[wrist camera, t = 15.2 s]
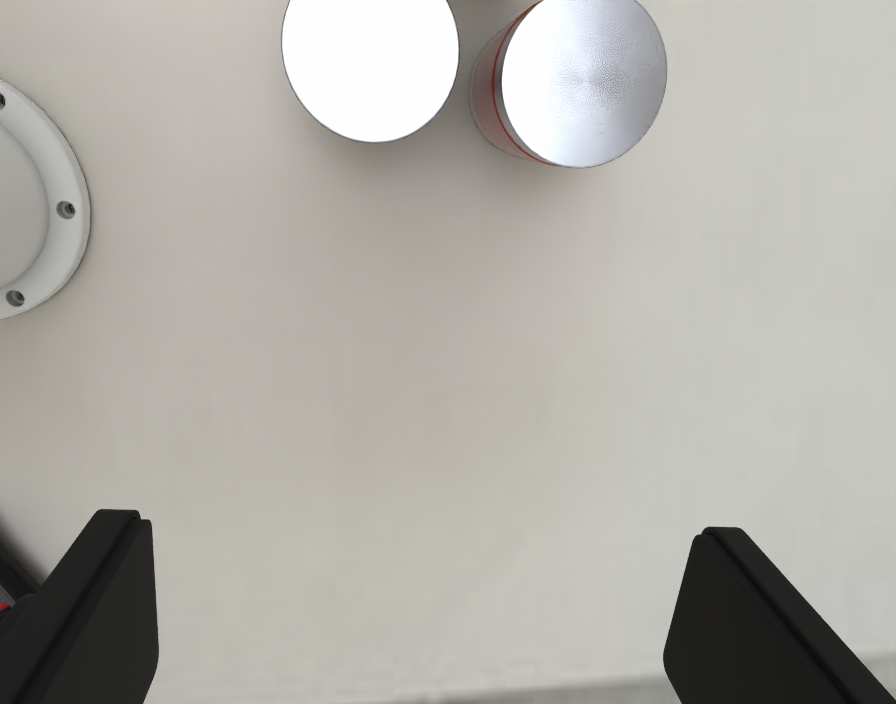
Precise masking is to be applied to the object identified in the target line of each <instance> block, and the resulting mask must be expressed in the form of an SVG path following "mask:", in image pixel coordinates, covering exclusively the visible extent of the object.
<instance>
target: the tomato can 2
mask: <svg viewBox="0 0 896 704" xmlns="http://www.w3.org/2000/svg"><path fill="white" fill-rule="evenodd" d="M666 81H667V60H666V53H665V48H664V44H663V41H662V38H661V35H660V32H659V30H658V28H657V26H656V24H655V22H654V21H653V19H652V18H651V16H650V15H649V13H648V12H647V11H646V10H645V9H644V8H643V7H642V6H641V5H640V4H639V3H638V2H637V1H636V0H541V1H540V2H538V3H536V4H534V5H533V6H531V7H530V8H529V9H527V10H526V11H525V12H523V13H522V14H521V15H520V16H518V17H517V18H516V19H515V20H513V21H512V22H511V23H509V24H508V25H507V26H506V27H504V28H503V29H502V30H500V31H499V32H498V33H497V34H496V35H495V36H494V37H493V38H492V39H491V40H490V41H489V42H488V43H487V44H486V45H485V47H484V48H483V49H482V50H481V52H480V54H479V55H478V57H477V59H476V61H475V63H474V66H473V68H472V72H471V75H470V81H469V91H468V94H469V104H470V110H471V113H472V116H473V119H474V121H475V123H476V125H477V127H478V129H479V130H480V132H481V133H482V134H483V136H484V137H485V138H486V139H487V140H488V141H489V142H490V143H491V144H492V145H494V146H495V147H497V148H498V149H500V150H502V151H504V152H506V153H509V154H511V155H513V156H516V157H519V158H523V159H527V160H531V161H536V162H540V163H544V164H548V165H553V166H561V167H568V168H590V167H594V166H599V165H602V164H605V163H608V162H610V161H612V160H614V159H616V158H618V157H620V156H621V155H623V154H624V153H626V152H627V151H629V150H630V149H631V148H632V147H633V146H634V145H635V144H637V143H638V142H639V140H640V139H641V138H642V137H643V136H644V135H645V134H646V132H647V131H648V129H649V128H650V126H651V125H652V123H653V121H654V119H655V118H656V116H657V114H658V111H659V109H660V106H661V104H662V100H663V97H664V93H665V88H666Z"/></svg>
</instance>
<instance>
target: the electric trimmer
mask: <svg viewBox="0 0 896 704" xmlns="http://www.w3.org/2000/svg"><path fill="white" fill-rule="evenodd" d="M40 588H41V587H40V586H39V585H38V584H37V583H36V581H35V580H34V579H33V578H32V577H31V576H30V575H29V574H28V573H27V572H26V570H25V569H24V568H23V567H22V566H21V565H20V564H19V563H18V562H17V561H16V560H15V558H14V557H13V556H12V555H11V554H10V553H9V552H8V551H7V550H6V549H5V548H4V546H3V545H2V544H1V543H0V622H1V621H2V620H3V618H4V617H5V616H6V614H7V613H8V612H9V611H10V609H11V608H12V607H13V605H14V604H15V603H16V602H17V601H18V600H19V599H20V598H21V597H22V596H25V595H27V594H36V593H37V592H38V591H39V589H40Z"/></svg>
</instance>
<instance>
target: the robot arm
mask: <svg viewBox="0 0 896 704" xmlns="http://www.w3.org/2000/svg"><path fill="white" fill-rule="evenodd" d="M2 96H4V98H5V101H6V102H5V106H4V105H3V104H2V103H1V97H2ZM70 204H72V205H73V206H74V209H75V213H73V212H71V211H70V209H69V205H70ZM89 231H90V201H89V196H88V192H87V187H86V182H85V178H84V176H83V173H82V171H81V168H80V166H79V163H78V161H77V158H76V156H75V154H74V152H73V151H72V149H71V147H70V146H69V144H68V143H67V141H66V139H65V138H64V136H63V134H62V133H61V131H60V130H59V129H58V128H57V127H56V125H55V124H54V123H53V122H52V121H51V120H50V119H49V117H48V116H47V115H46V114H45V113H44V112H43V110H42V109H40V108H39V107H38V106H37V105H36V104H35V103H33V102H32V101H31V100H30V99H29V98H27V97H26V96H25V95H24V94H23V93H22V92H20V91H19V90H18V89H16V88H14V87H13V86H11V85H9V84H8V83H6V82H4V81H3V80H1V79H0V319H4V318H10V317H12V316H15V315H17V314H20V313H22V312H25V311H27V310H30V309H32V308H34V307H35V306H37V305H39V304H41V303H43V302H44V301H46V300H48V299H49V298H50V297H51V296H53V295H54V294H55V293H56V292H57V291H59V290H60V289H61V288H62V287H63V286H64V285H65V284H66V283H67V281H68V280H69V279H70V277H71V276H72V275H73V273H74V272H75V271H76V270H77V268H78V265H79V263H80V261H81V259H82V257H83V254H84V252H85V250H86V246H87V241H88V236H89ZM20 293H21V294H22V295H23V297H24V298H22V297H21V296H20ZM158 656H159V644H158V626H157V608H156V590H155V573H154V555H153V537H152V525H151V522H150V520H145V519H141V517H140V514H139V512H138V511H137V510H116V509H100V510H98V511H97V512H96V513H95V514H94V515H93V517H92V518H91V519H90V521H89V522H88V523H87V525H86V526H85V528H84V529H83V530H82V532H81V533H80V534H79V536H78V537H77V538H76V540H75V541H74V543H73V544H72V545H71V547H70V548H69V549H68V551H67V552H66V554H65V555H64V556H63V558H62V559H61V560H60V562H59V563H58V565H57V566H56V567H55V569H54V570H53V571H52V573H51V574H50V576H49V577H48V578H47V580H46V581H45V582H44V584H43V585H42V586H41V588H40V589H39V591H38V592H37V593H36V594H27V595H25V596H22V597H21V598H20V599H19V600H18V601H17V602H16V603H15V604H14V605H13V607H12V608H11V609H10V611H9V612H8V613H7V614H6V616H5V617H4V618H3V620H2V621H1V622H0V704H143V702H144V700H145V697H146V695H147V692H148V690H149V688H150V685H151V683H152V680H153V678H154V675H155V672H156V668H157V663H158ZM663 662H664V668H665V671H666V674H667V676H668V678H669V680H670V682H671V684H672V686H673V688H674V689H675V691H676V693H677V695H678V697H679V699H680V701H681V703H682V704H896V700H895V699H894V698H893V697H892V696H891V695H890V693H889V692H888V691H887V690H886V689H885V688H884V687H883V686H882V684H881V683H880V682H879V681H878V680H877V679H876V678H875V677H874V675H873V674H872V673H871V672H870V671H869V670H868V669H867V668H866V667H865V665H864V664H863V663H862V662H861V661H860V660H859V659H858V658H857V657H856V655H855V654H854V653H853V652H852V651H851V650H850V649H849V648H848V646H847V645H846V644H845V643H844V642H843V641H842V640H841V639H840V638H839V636H838V635H837V634H836V633H835V632H834V631H833V630H832V629H831V627H830V626H829V625H828V624H827V623H826V622H825V621H824V620H823V619H822V617H821V616H820V615H819V614H818V613H817V612H816V611H815V610H814V609H813V607H812V606H811V605H810V604H809V603H808V602H807V601H806V600H805V598H804V597H803V596H802V595H801V594H800V593H799V592H798V591H797V590H796V588H795V587H794V586H793V585H792V584H791V583H790V582H789V581H788V580H787V578H786V577H785V576H784V575H783V574H782V573H781V572H780V571H779V569H778V568H777V567H776V566H775V565H774V564H773V563H772V562H771V561H770V559H769V558H768V557H767V556H766V555H765V554H764V553H763V552H762V550H761V549H760V548H759V547H758V546H757V545H756V544H755V543H754V542H753V540H752V539H751V538H750V537H749V536H748V535H747V534H746V533H745V532H744V531H743V530H742V529H741V528H737V527H707V528H705V529H704V530H703V531H702V534H701V535H696V536H695V538H694V539H693V542H692V545H691V549H690V553H689V557H688V561H687V564H686V568H685V572H684V576H683V580H682V583H681V587H680V591H679V595H678V599H677V602H676V606H675V610H674V614H673V618H672V621H671V625H670V629H669V633H668V637H667V640H666V644H665V648H664V653H663Z"/></svg>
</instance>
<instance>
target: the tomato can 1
mask: <svg viewBox="0 0 896 704" xmlns="http://www.w3.org/2000/svg"><path fill="white" fill-rule="evenodd" d="M281 52H282V58H283V64H284V68H285V72H286V75H287V78H288V80H289V83H290V85H291V88H292V89H293V91H294V93H295V95H296V97H297V99H298V100H299V101H300V103H301V104H302V106H303V107H304V108H305V109H306V111H307V112H308V113H309V114H310V115H311V116H312V117H313V118H314V119H315V120H316V121H318V122H319V123H320V124H321V125H322V126H324V127H325V128H327V129H328V130H330V131H331V132H333V133H335V134H337V135H339V136H341V137H344V138H347V139H350V140H353V141H357V142H362V143H375V144H377V143H388V142H392V141H397V140H400V139H402V138H405V137H408V136H410V135H412V134H413V133H415V132H417V131H419V130H420V129H421V128H423V127H424V126H425V125H427V124H428V123H429V122H430V121H431V120H432V119H433V118H434V117H435V116H436V115H437V114H438V112H439V111H440V110H441V109H442V107H443V106H444V104H445V102H446V101H447V99H448V97H449V95H450V93H451V91H452V89H453V86H454V83H455V80H456V76H457V72H458V66H459V55H460V46H459V35H458V30H457V24H456V21H455V18H454V15H453V12H452V10H451V7H450V5H449V3H448V1H447V0H289V2H288V5H287V8H286V11H285V14H284V19H283V23H282V32H281Z"/></svg>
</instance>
